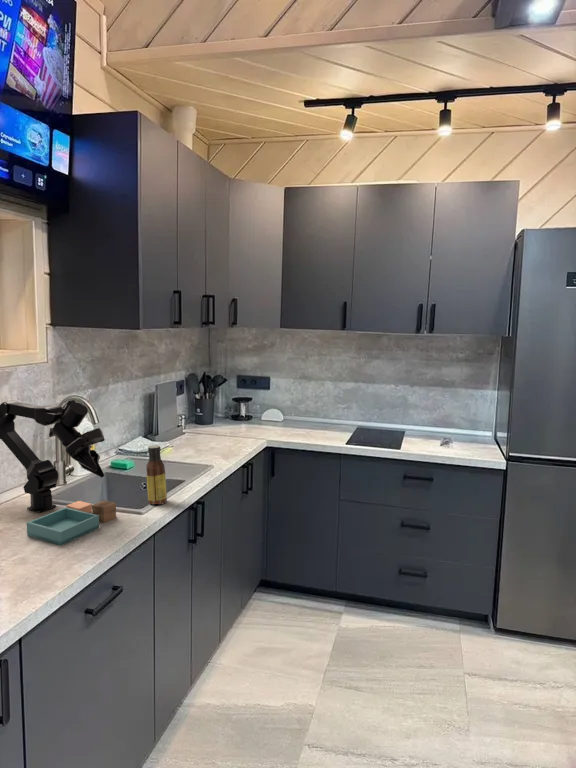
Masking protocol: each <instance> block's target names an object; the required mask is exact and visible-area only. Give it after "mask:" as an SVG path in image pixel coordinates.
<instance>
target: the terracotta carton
mask: <svg viewBox="0 0 576 768" xmlns="http://www.w3.org/2000/svg"><path fill="white" fill-rule="evenodd" d="M92 505H93V504H92V503H90V502H86V501H85V502H84V501H81V500H77V501H75V502H72V503H69V504H67V505H66V506H65V507H67V508H71V509H75V510H79V511H83V512H87V513H91V514H92Z"/></svg>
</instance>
